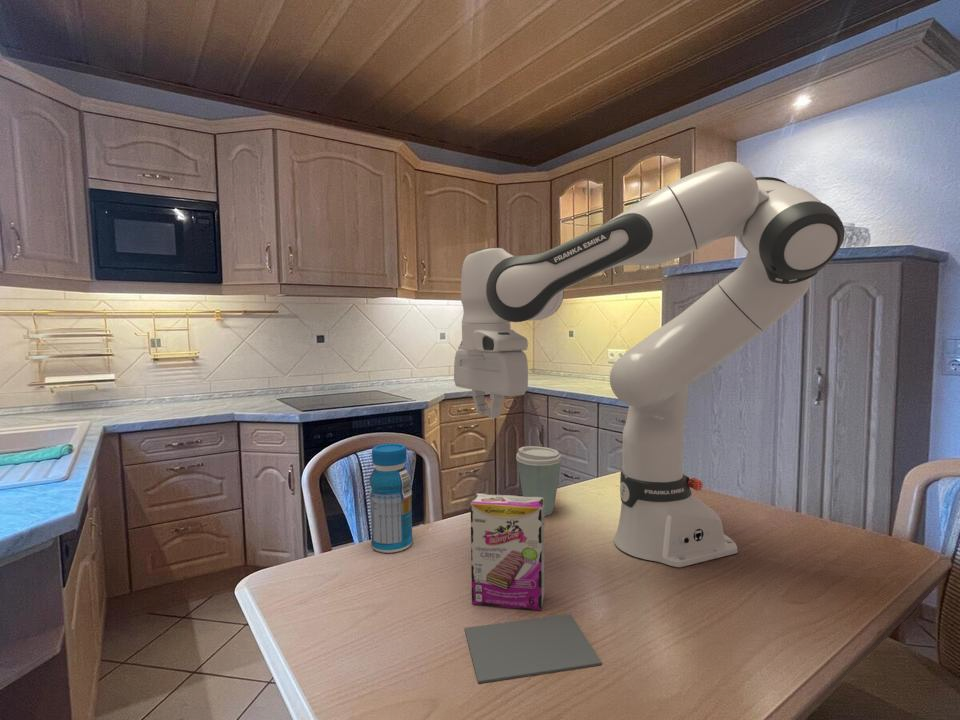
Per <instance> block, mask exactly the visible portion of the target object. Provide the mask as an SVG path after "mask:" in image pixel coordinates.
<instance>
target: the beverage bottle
mask: <svg viewBox="0 0 960 720" xmlns="http://www.w3.org/2000/svg"><path fill="white" fill-rule="evenodd" d="M407 456H408V455H407V447H406V445H404V444H401V443H384V444H383V443H382V444H378V445H375V446H373V448H372V449H371V460H372V465H373V466H374V468H373V470H372V472H371V475H370V477H369V480H368V481H369V482H368V484H369V486H370V489H369V493H368V499H369V505H370V528H371V530H370V531H371V532H370V533H371V546H372V549H373V550H375V551H377V552H380V553H382V554H383V553H385V554H390V553H398V552H402V551H404V550H406V549H408V548H409V547H411V545H413V540H414V538H413V517H412V516H413V513H412V512H413V511H412V510H413V509H412V497H413V490H412V488H411V486H410V483H411V482H412V479H411V478H412V477H411V475H410V471H409V470H408V468H407V467H406V466H405V464H406V463H407Z"/></svg>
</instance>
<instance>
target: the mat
mask: <svg viewBox="0 0 960 720" xmlns="http://www.w3.org/2000/svg"><path fill="white" fill-rule="evenodd" d="M464 633H465V636H466V641H467V645H468V649H469V652H470V657H471V661H472V665H473V669H474V673H475V676H476V680H477V684H485V683H491V682H498V681H505V680H511V679H517V678H524V677H530V676H537V675H543V674H544V675H545V674H550V673H556V672H564V671H570V670H576V669H577V670H578V669H583V668H590V667H596V666H602V665H603V662H602V660H601V659H600V656H598V653H597V652H596V651H595V649H594V648H593V646H592V645H591V643H590V642H589V640H588V638H587V636H586V635H585V634H584V632H583V630H582V629H581V628H580V626H579V624H578V623H577V622H576V619H575V618H574V617H573V615H572V614H571V613H567V614H561V615H560V614H559V615H552V616H546V617H545V616H543V617H538V618H530V619H523V620H520V619H519V620H514V621H507V622H500V623H499V622H498V623H497V622H496V623H491V624H483V625H475V626H468V627H464Z"/></svg>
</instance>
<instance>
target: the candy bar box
mask: <svg viewBox="0 0 960 720" xmlns="http://www.w3.org/2000/svg"><path fill="white" fill-rule="evenodd" d="M470 548H471V549H470V553H471V554H470V556H471V558H470V561H471V563H470V564H471V572H470V573H471V575H470V576H471V578H470V579H471V604H472V605H481V606H487V607H488V606H491V607H499V608H509V609H519V610H520V609H521V610H528V611H529V610H530V611H540V612H541V611H543V610H542V609H543V604H544V603H543V602H544V598H545V516H544V498H543V497H528V496H523V495H511V494H510V495H509V494H496V493H495V494H494V493H493V494H492V493H491V494H490V493H479V492H477V493H476V494H475V496H474V498H473V499H472V500H471V502H470Z"/></svg>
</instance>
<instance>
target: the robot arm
mask: <svg viewBox="0 0 960 720" xmlns="http://www.w3.org/2000/svg"><path fill="white" fill-rule="evenodd" d="M845 235H846V234H845V227H844V224H843V222H842V220H841V218H840V216H839V215H838V214H837V212H836V211H835V210H834V209H833V208H832V207H831V206H829V205H828V204H826V203H824V202H822V200H819V199H818V198H817V197H816V196H815V195H814V194H812V193H810V192H809V191H808V190H805V189H804V188H800V187H797V186H794V185H792V184H789V183H787V182H786V181H785V180H783V179H781V178H778V177H772V176H756V177H755V176H754V174H753V173H752V171H750V169H749V168H748V167H746V166H745V165H743V164H741V163H739V162H735V161H725V162H721V163H718V164H715V165H712V166H709V167H707V168H703V169H700V170H699V171H696V172H694V173H693V172H692V173H691V174H689V175H686V176H683V177H682V178H679V179H677V180H675V181H673V182H671V183H669V184H667V185H666V186H664V187H662V188H660V189H658V190H657V191H654V192H653V193H651V194H650V195H648V196H646V197H644V198H643V199H641V200H640V201H638V202H637V203H635V204H634V205H632V206H631V207H629V208H628V209H626V210H625V211H622V212H621V213H619V214H618V215H617V216H614V217H612V219H610V220H608V221H607V222H605V223H603V224H602V225H598V226H597V227H595V228H593V229H591V230H587V232H584V233H582V234H580V235H578V236H576V237H574V238H571V239H569V240H568V241H565V242H564V243H562V244H559V245H557V246H555V247H553V248H551V249H549V250H546V251H544V252H540V253H535V254H530V255H529V254H528V255H512V254H511V253H509V252H507V250H505V249H504V248H502V247H484V248H480V249H476V250H474V251H472V252H470V253H469V254H468V255H467V256H466V257H465V258H464V260H463V264H462V268H461V277H460V278H461V279H460V280H461V281H460V300H461V305H462V309H463V315H462V319H461V341H460V344H459V346H458V349H457V350H456V351H455V356H454V364H453V365H454V366H453V381H454V385H455V386H456V387H457V388H461V389H468V390H471V396H472V399H473V402H474V404H475V414H477V415H481V416H483V415H485V416H486V415H487V416H488V418H491V419H499V418H500V417H501V408H502V405H503V404H504V400H505V396H506V397H520V396H524V395H525V394H526V392H527V390H528V387H529V386H528V385H529V369H528V368H529V366H528V363H529V362H528V356H527V355H526V353H525V352H524V351H527V350H528V345H529V340H528V338H527V337H525V336H523V335H521V334H519V333H518V332H516V331H515V330H514V329H512V328H511V323H521V322H527V321H541V320H545V319H547V318H549V317H551V316H553V315H554V314H556V312H557V311H559V308H561V305H562V303H563V300H564V294H565V292H564V291H565V290H566V289H569V288H570V287H572V286H575V285H576V284H579V283H581V282H582V281H585V280H587V279H590V278H592V277H594V276H596V275H598V274H601V273H603V272H605V271H607V270H609V269H610V270H611V269H613V268H617V267H622V266H632V265H634V266H638V265H639V266H656V265H660V264H664V263H667V262H670V261H674V260H676V259H680V258H682V257H684V256H688V255H689V254H690V253H692V252H696V251H697V250H699V249H701V248H703V247H706V246H707V245H709V244H711V243H713V242H715V241H716V240H720V239H723V238H728V237H735V238H736V239H737V241H738V242H739V244H740V245H741V246H742V247H743V248H744V249H745V250H746V251H747V252H746V255H745V258H744V260H742V262H741V264H740V265H739V266H738V267H737V269H735V270H734V271H733V272H731V273H730V274H729V275H727V276H726V277H724V278H723V279H722V280H721V281H719V282H718V283H716V284H715V285H714V286H713V287H712V288H710V289H709V290H708V291H706V293H705V294H703V295H702V296H701V297H700V298H698V299H697V300H696V301H694V302H693V303H692V304H691V305H690V306H688V307H687V308H685V310H684V311H682V312H681V313H679V314H678V315H677V316H675V317H673V319H671V320H670V321H668V322H666V323H665V324H664V325H662V326H661V327H659V328H658V329H656V330H655V331H653V332H652V333H651V334H649V335H648V336H647V337H645V338H643V339H642V340H641V341H639V342H638V343H637V344H635V345H634V346H633V347H632V348H629V350H628V351H626V352H625V353H624V354H623V355H621V356H620V357H618V359H617V360H616V361H615V363H614V364H613V366H612V367H611V370H610V375H609V384H610V388H611V390H612V392H613V394H614V395H615V397H616V398H617V399H618V400H619V401H620V402H622V403H623V404H625V405H627V406H628V408H627V409H628V410H627V414H626V415H627V416H626V419H625V424H624V427H623V431H622V470H620V479H619V481H620V483H619V491H620V492H619V493H620V501H621V507H620V514H619V521H618V524H617V530H616V534H615V536H614V540H613V541H614V545H615V546H616V547H617V548H618V549H619V550H621V551H622V552H624V553H626V554H628V555H629V556H633V557H635V558H639V559H641V560H647V561H652V562H653V561H654V562H657V563H662V564H664V565H668V566H670V567H674V568H683V567H686V566H690V565H695V564H698V563H699V564H700V563H704V562H707V561H711V560H714V559H715V560H716V559H719V558H722V557H726V556H727V557H728V556H730V555H735V554H738V551H739V550H738V546H737V544H736V542H735V541H734V540H733V539H732V538H731V537H729V536H728V535H727V534H725V533H724V528H723V523H722V519H721V518H720V516H719V514H718V513H717V512H715V510H713V509H712V508H711V507H709V505H707V504H705V502H703V501H702V500H700V499H699V498H698V497H696V496H695V494H693V493H692V490H691V489H693V490H695V491H697V492H698V491H701V490H702V489H703V486H704V483H703V482H702V480H699V479H697V478H695V477H691V478H690V477H689V476H687V475H686V474H684V433H685V431H684V430H685V424H686V423H685V422H686V415H687V406H688V395H689V384H691V383H692V382H694V381H695V380H697V379H698V378H700V377H701V376H702V375H704V374H705V373H706V372H708V371H710V370H712V369H713V368H714V367H715V366H717V365H719V364H720V363H722V362H723V361H724V360H725V359H727V358H728V357H730V356H732V354H734V353H735V352H736V351H738V350H740V349H741V348H742V347H744V346H745V345H747V344H748V343H749V342H750V341H752V340H753V339H755V338H756V337H758V336H759V335H760V334H762V333H763V332H764V331H766V330H767V329H769V328H770V327H771V326H773V324H775V323H776V322H777V321H778V320H779V319H781V318H782V317H783V316H784V315H785V314H787V313H788V311H790V310H791V309H792V307H794V306H795V305H796V304H797V303H798V302H799V301H800V300H801V298H802V299H803V297H804V296H805V294H806V293H807V292H808V290H809V289H810V286H811V278H813V277H814V276H816V275H817V274H818V272H819V271H821V270H822V269H824V268H825V267H826V266H827V265H828V264H829V263H831V261H832V260H833V259H834V257H835V256H836V255H837V253H838V252H839V250H840V248H841V247H842V245H843V243H844V240H845ZM486 393H488V394H489V399H490V400H491V402H490V405H488V404H487V403H486V399H485V395H486Z"/></svg>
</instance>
